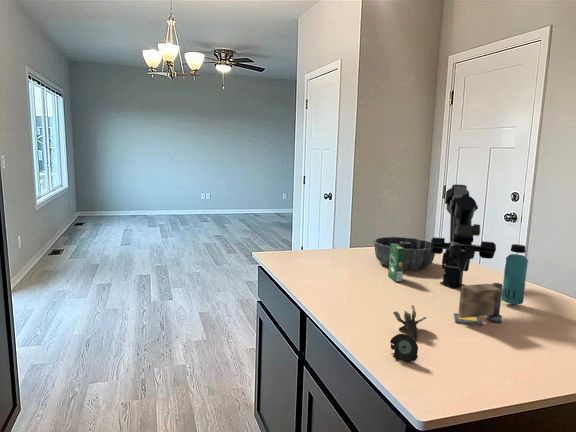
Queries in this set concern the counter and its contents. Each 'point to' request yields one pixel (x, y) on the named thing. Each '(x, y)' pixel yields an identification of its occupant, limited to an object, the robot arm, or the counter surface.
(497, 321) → the pivot foot
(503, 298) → the beverage bottle
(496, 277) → the counter surface
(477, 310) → the brown wooden block
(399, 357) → the artificial flower
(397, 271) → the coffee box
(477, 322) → the label plaque
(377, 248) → the bundt pan
